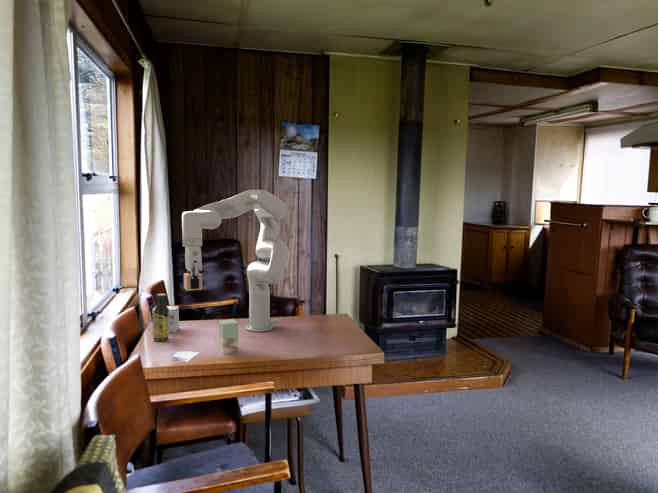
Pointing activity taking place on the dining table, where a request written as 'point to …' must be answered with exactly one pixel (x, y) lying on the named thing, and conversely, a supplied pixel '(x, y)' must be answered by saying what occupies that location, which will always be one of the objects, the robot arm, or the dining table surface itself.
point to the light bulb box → (170, 318)
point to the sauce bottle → (161, 319)
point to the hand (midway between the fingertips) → (193, 286)
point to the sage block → (228, 329)
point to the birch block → (228, 345)
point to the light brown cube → (188, 282)
